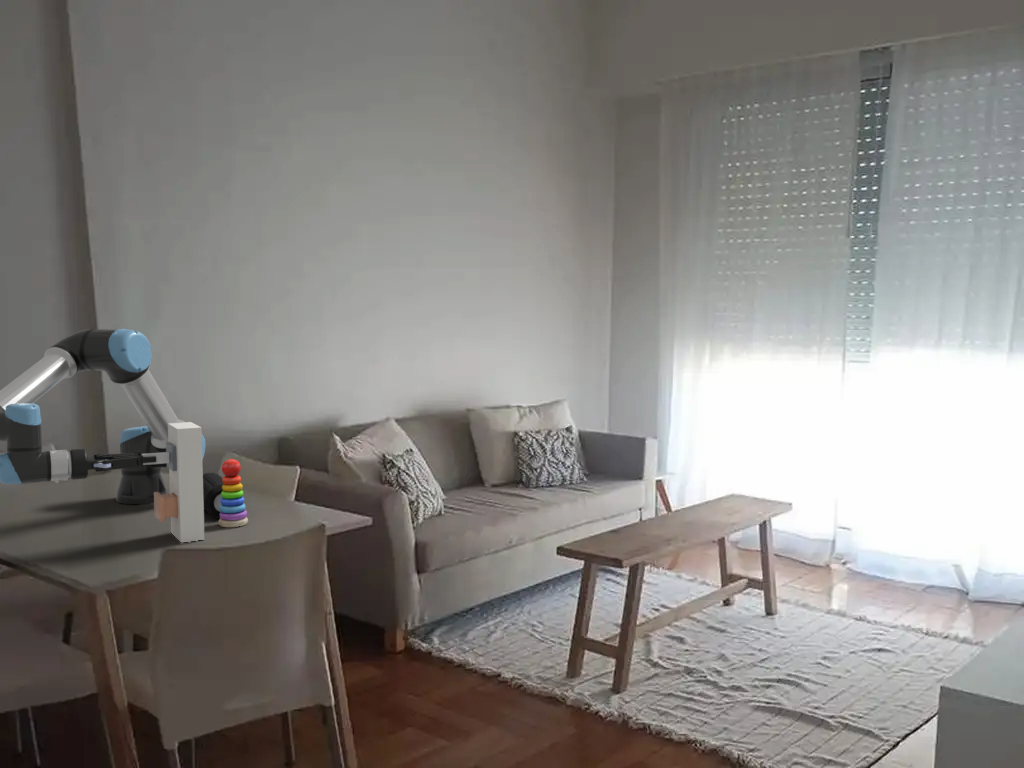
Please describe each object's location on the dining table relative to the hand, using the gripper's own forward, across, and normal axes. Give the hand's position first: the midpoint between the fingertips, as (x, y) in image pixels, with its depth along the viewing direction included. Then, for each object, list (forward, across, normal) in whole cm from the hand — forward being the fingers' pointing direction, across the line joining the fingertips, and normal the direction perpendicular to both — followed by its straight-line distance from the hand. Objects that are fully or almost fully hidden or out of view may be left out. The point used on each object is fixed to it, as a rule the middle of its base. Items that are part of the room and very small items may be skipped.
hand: (168, 457), depth 242 cm
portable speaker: (+18, -27, -22) cm, 39 cm away
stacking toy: (+18, -8, -22) cm, 30 cm away
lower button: (0, 0, -16) cm, 16 cm away
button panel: (+5, 0, -22) cm, 22 cm away
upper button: (+4, 0, -3) cm, 5 cm away
